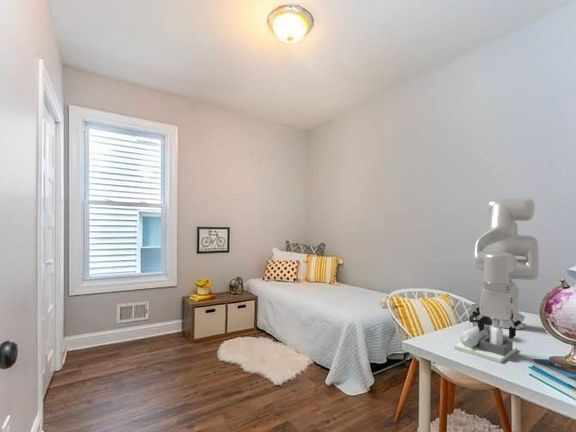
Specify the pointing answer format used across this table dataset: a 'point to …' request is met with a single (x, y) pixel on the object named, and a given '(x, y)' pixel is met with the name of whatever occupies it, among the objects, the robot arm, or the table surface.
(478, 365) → the table surface
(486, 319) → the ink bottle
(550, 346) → the table surface
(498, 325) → the eye dropper bottle
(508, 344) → the motor mount
